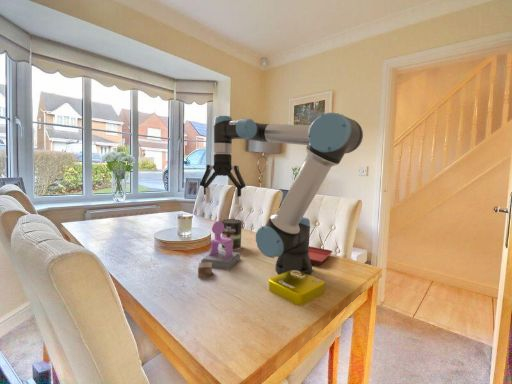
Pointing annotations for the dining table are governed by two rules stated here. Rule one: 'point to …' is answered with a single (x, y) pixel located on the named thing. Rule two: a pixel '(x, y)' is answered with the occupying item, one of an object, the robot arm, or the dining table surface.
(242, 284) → the dining table surface
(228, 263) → the plinth
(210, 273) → the walnut block
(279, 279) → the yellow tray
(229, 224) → the coffee can
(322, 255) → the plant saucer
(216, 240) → the chair
